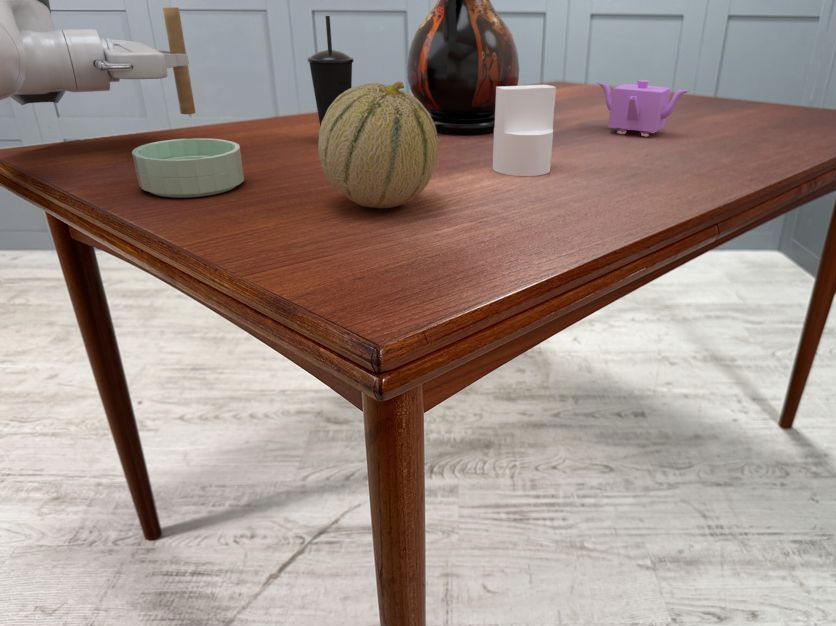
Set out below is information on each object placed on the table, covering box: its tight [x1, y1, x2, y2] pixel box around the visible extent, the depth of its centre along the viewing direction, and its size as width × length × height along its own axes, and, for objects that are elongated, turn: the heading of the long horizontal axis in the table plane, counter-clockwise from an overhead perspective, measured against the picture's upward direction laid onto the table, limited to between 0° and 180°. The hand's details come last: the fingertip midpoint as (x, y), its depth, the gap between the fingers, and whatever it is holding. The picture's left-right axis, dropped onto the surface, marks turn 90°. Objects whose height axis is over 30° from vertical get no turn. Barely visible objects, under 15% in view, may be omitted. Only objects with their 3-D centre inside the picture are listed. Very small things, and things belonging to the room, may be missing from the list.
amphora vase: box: [406, 0, 520, 135], centre depth 126 cm, size 22×22×28 cm
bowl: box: [131, 137, 245, 198], centre depth 90 cm, size 13×13×5 cm
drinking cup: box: [306, 15, 355, 127], centre depth 114 cm, size 8×8×20 cm
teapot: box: [596, 79, 690, 134], centre depth 129 cm, size 18×13×10 cm
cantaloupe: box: [317, 80, 439, 209], centre depth 82 cm, size 15×15×15 cm
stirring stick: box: [162, 6, 196, 115], centre depth 109 cm, size 2×2×16 cm
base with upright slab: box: [492, 84, 557, 177], centre depth 101 cm, size 9×9×12 cm
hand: (184, 58), depth 109 cm, fingers closed on stirring stick, 2 cm apart
